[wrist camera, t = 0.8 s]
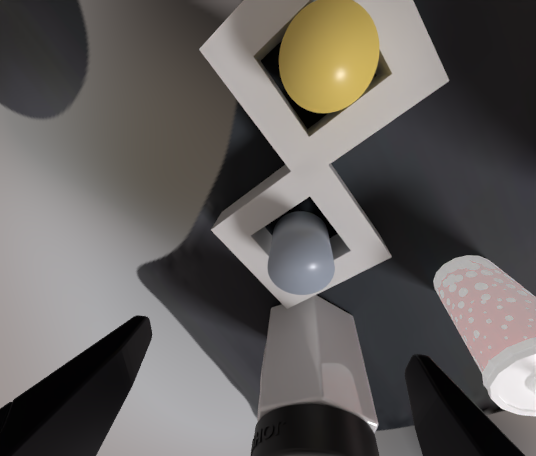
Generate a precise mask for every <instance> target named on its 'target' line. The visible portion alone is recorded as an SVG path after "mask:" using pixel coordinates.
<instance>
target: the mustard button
mask: <svg viewBox="0 0 536 456" xmlns="http://www.w3.org/2000/svg"><path fill="white" fill-rule="evenodd" d="M379 51H380V50H379V37H378V32H377V29H376V26H375V24H374V21H373V20H372V18H371V16H370V15H369V14H368V12H367V11H366V10H365V9H364V8H363V7H362V6H361V5H360V4H358V3H356V2H355V1H353V0H316V1H314V2H312V3H310V4H309V5H307V6H306V7H305V8H303V9H302V10H301V11H300V12H299V13H298V14H297V15H296V16H295V17H294V19H293V20H292V22H291V23H290V24H289V26H288V28H287V30H286V32H285V34H284V37H283V39H282V43H281V47H280V52H279V70H280V76H281V79H282V83H283V85H284V87H285V89H286V91H287V93H288V94H289V96H290V97H291V98H292V99H293V100H294V101H295V102H296V103H297V104H298V105H299V106H301V107H302V108H304V109H306V110H309V111H311V112H316V113H332V112H336V111H339V110H342V109H344V108H346V107H348V106H349V105H351V104H352V103H354V102H355V101H356V100H357V99H358V98H359V97H360V96H361V95H362V94H363V93H364V92H365V90H366V89H367V87H368V86H369V84H370V82H371V81H372V79H373V76H374V74H375V71H376V68H377V65H378V60H379Z"/></svg>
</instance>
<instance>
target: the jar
mask: <svg viewBox="0 0 536 456" xmlns="http://www.w3.org/2000/svg"><path fill="white" fill-rule="evenodd" d="M377 427H378V420H377V416H376V412H375V408H374V403H373V399H372V395H371V391H370V386H369V382H368V378H367V374H366V369H365V365H364V361H363V356H362V352H361V348H360V344H359V339H358V335H357V331H356V327H355V322H354V318H353V316H352V315H350V314H349V313H347V312H345V311H343V310H342V309H340V308H338V307H336V306H335V305H333V304H331V303H329V302H328V301H326V300H324V299H322V298H321V297H319V296H317V295H314V296H312V297H310V298H308V299H306V300H304V301H302V302H300V303H298V304H296V305H294V306H292V307H290V308H288V309H286V308H285V307H284V305H283V304H281V305H278V306H275V307H272V308H271V310H270V318H269V326H268V334H267V342H266V345H265V351H264V359H263V364H262V371H261V382H260V397H259V405H258V423H257V425H256V428H255V435H254V439H253V442H252V449H251V456H379V452H378V447H377V443H376V438H375V434H374V433H375V431H376V429H377Z"/></svg>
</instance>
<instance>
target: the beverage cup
mask: <svg viewBox="0 0 536 456" xmlns="http://www.w3.org/2000/svg"><path fill="white" fill-rule="evenodd" d="M433 282H434V287H435V290H436V292H437V294H438V295H439V297H440V299H441V301H442V303H443V304H444V306H445V308H446V310H447V312H448V313H449V315H450V317H451V319H452V321H453V322H454V324H455V326H456V328H457V329H458V331H459V333H460V335H461V337H462V338H463V340H464V342H465V344H466V346H467V347H468V349H469V351H470V353H471V355H472V356H473V358H474V360H475V362H476V364H477V365H478V367H479V369H480V371H481V373H482V376H483V385H484V386H485V387H486V388H487V390H488V394H489V396H490V397H491V399H492V400H493V401H494V402H495V403H496V404H497V405H498V406H499V407H500V408H501V409H504V410H507V411H509V412H512V413H515V414H518V415H526V416H536V297H535V296H534V295H533V294H531V293H530V292H529V291H528V290H526V289H525V288H524V287H522V286H521V285H520V284H519V283H517V282H516V281H515V280H514V279H512V278H511V277H510V276H508V275H507V274H506V273H505V272H503V271H502V270H501V269H500V268H498V267H497V266H496V265H495V264H493V263H492V262H491V261H489V260H488V259H485V258H483V257H481V256H472V255H466V256H462V257H458V258H454V259H452V260H451V261H449V262H447V263H445V264H444V265H443V266H442V267H441V268H440V269H439V270H438V271H437V272H436V275H435V277H434V280H433Z"/></svg>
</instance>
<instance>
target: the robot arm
mask: <svg viewBox="0 0 536 456" xmlns="http://www.w3.org/2000/svg"><path fill="white" fill-rule="evenodd" d="M151 338H152V330H151V325H150V320H149V318H148V317H146V316H135V317H133V318H131V319H130V320H128V321H127V322H126V323H124V324H123V325H121V326H120V327H118V328H117V329H115V330H114V331H112V332H111V333H110V334H108V335H107V336H105V337H104V338H102V339H101V340H99V341H98V342H97V343H95V344H94V345H92V346H91V347H89V348H88V349H86V350H85V351H84V352H82V353H81V354H79V355H78V356H76V357H75V358H73V359H72V360H70V361H69V362H67V363H66V364H65V365H63V366H62V367H60V368H59V369H57V370H56V371H54V372H53V373H51V374H50V375H49V376H47V377H46V378H44V379H43V380H41V381H40V382H39V383H37V384H36V385H34V386H33V387H31V388H30V389H28V390H27V391H25V392H24V393H22V394H21V395H20V396H18V397H17V398H15V399H14V400H13V402H9V403H8V404H6V405H5V406H4V407H2V408H1V409H0V456H96V455H97V452H98V451H99V449H100V447H101V445H102V443H103V441H104V439H105V437H106V435H107V433H108V432H109V430H110V428H111V426H112V424H113V422H114V420H115V418H116V416H117V414H118V412H119V411H120V409H121V407H122V405H123V403H124V401H125V399H126V397H127V395H128V393H129V391H130V389H131V387H132V385H133V383H134V381H135V378H136V376H137V373H138V371H139V368H140V366H141V363H142V361H143V359H144V356H145V354H146V351H147V349H148V346H149V344H150V341H151ZM405 380H406V385H407V390H408V395H409V400H410V405H411V410H412V415H413V421H414V425H415V430H416V433H417V437H418V440H419V444H420V447H421V450H422V454H423V456H525V455H524V454H523V453H522V452H521V451H520V450H519V449H518V448H517V447H516V446H515V445H514V444H513V443H512V442H511V440H509V438H508V437H507V436H506V435H505V434H503V432H502V431H501V430H500V429H499V428H498V427H497V426H496V425H495V424H494V423H493V422H492V421H491V420H490V419H489V418H488V417H487V416H486V415H485V414H484V413H483V412H482V411H481V410H480V409H479V408H478V407H477V405H476V404H475V403H474V402H473V401H472V400H471V399H470V398H469V397H468V396H467V395H466V394H465V393H464V392H463V391H462V390H461V389H460V388H459V387H458V386H457V385H456V384H455V383H454V382H453V381H452V380H451V379H450V378H449V377H448V376H447V375H446V374H445V373H444V372H443V371H442V370H441V368H440V367H439V366H438V365H437V364H436V363H435V362H434V361H433V360H432V359H431V358H430V357H428V356H426V355H420V354H414V355H413V356H412V357H411V359H410V361H409V363H408V365H407V367H406V369H405Z"/></svg>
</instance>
